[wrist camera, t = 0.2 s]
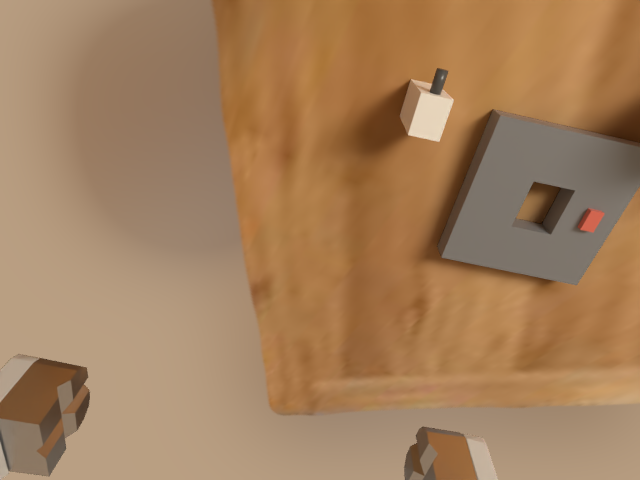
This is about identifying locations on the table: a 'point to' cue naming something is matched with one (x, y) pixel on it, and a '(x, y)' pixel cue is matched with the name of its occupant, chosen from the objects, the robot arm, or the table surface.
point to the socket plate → (566, 211)
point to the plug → (426, 107)
